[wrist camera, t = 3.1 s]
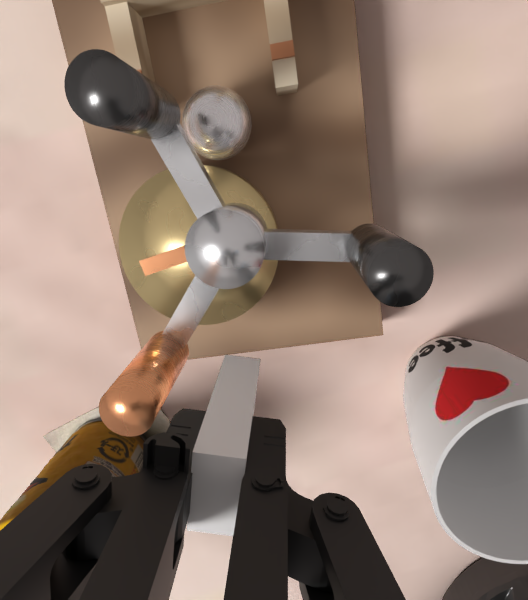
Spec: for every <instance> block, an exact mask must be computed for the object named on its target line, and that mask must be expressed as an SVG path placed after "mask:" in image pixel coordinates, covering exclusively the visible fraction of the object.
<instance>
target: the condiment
mask: <svg viewBox="0 0 528 600" xmlns="http://www.w3.org/2000/svg"><path fill="white" fill-rule="evenodd" d="M169 426H170V421H169V419H168V418H167V417H166V416H165V414H164V413H163V412H162V411H161V409H160V411H159V413H158V415H157V416H156V418H155V420H154V422H153V424H152V426H151V427H150V428H149V429H148V430H147V431H146V432H145V433H143V434H141V435H138V436H131V437H130V436H122V435H119V434H117V433H115V432H113V431H111V430H110V429H109V428H108V427H107V426H106V425H105V424H104V423H103V421H102V419H101V417H100V414H99V407H98V408H96V409H94V410H92V411H90V412H88V413H86V414H84V415H82V416H80V417H78V418H76V419H74V420H72V421H71V422H69V423H67V424H65V425H63V426H61V427H59V428H57V429H55V430H53V431H52V432H50V433H48V434H46V435H45V436H43V437H44V438H45V439H46V440H47V442H48V443H49V444H50V446H51V447H52V448H53V449H54V450H55V451H56V454H55V455H54V456H53V458H52V459H50V461H49V463H48V464H47V465H46V466H45V467H44V468H43V470H42V471H41V472H40V474H39V475H38V476H37V477H36V478H35V479H34V480H33V481H32V483H31V484H30V486H29V487H28V488H27V489H26V490H25V492H24V493H22V495H21V496H20V497H19V499H18V500H17V501H16V502H15V503H14V504H13V506H11V508H10V509H9V510H8V511H7V512H6V514H5V515H4V516H3V518H2V519H1V520H0V530H2V529H3V528H4V527H5V526H6V525H7V524H8V523H9V522H11V521H12V520H13V519H14V518H15V517H16V516H17V515H19V514H20V513H21V512H22V511H23V510H24V509H25V508H27V507H28V506H29V505H30V504H31V503H32V502H33V501H34V500H36V499H37V498H38V497H39V496H40V495H41V494H42V493H44V492H45V491H46V490H47V489H48V488H49V487H50V486H52V485H53V484H54V483H55V482H56V481H57V480H58V479H59V478H61V477H62V476H63V475H64V474H65V473H67V472H68V471H70V470H71V469H73V468H75V467H78V466H81V465H84V464H98V465H103V466H104V467H106V468H108V469H109V470H110V472H111V474H112V477H119V476H127V475H132V474H135V473H138V472H141V470H142V468H143V443H144V442H145V441H146V440H147V439H148V438H149V437H151V436H153V435H155V434H159V433H163V432H167V429H168V427H169Z"/></svg>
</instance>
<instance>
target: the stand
mask: <svg viewBox="0 0 528 600" xmlns="http://www.w3.org/2000/svg"><path fill="white" fill-rule="evenodd" d="M52 3H53V7H54V10H55V14H56V18H57V22H58V26H59V30H60V34H61V38H62V42H63V46H64V49H65V53H66V57H67V61H68V65H70V63H71V62H72V60H73V59H74V58H75V57H76V56H77V55H79V54H80V53H82V52H84V51H87V50H91V49H100V50H105V51H108V52H110V53H112V54H114V55H115V56H117V57H118V58H120V59H121V60H123V61H124V62H126V63H127V64H128V65H130V66H131V67H133V68H134V69H136V70H137V71H139V72H140V73H142V74H143V75H145V76H146V77H147V78H149V79H150V80H152V81H153V82H155V83H156V84H158V85H159V86H161V87H162V88H163V89H165V90H166V91H168V92H169V93H170V94H172V96H173V97H174V98H175V99H176V101H177V103H178V105H179V108H180V115H181V117H180V124H181V126H182V116H183V111H184V108H185V105H186V103H187V101H188V100H189V99H190V97H191V96H192V95H193V94H194V93H195V92H197V91H198V90H200V89H202V88H204V87H207V86H214V85H217V86H224V87H227V88H229V89H231V90H233V91H235V92H236V93H237V94H238V95H239V96H241V98H242V99H243V100H244V101H245V103H246V104H247V106H248V108H249V111H250V115H251V121H252V129H251V134H250V138H249V140H248V142H247V144H246V146H245V147H244V148H243V149H242V150H241V151H240V152H239V153H238V154H237V155H235V156H233V157H231V158H229V159H225V160H211V159H208V158H205V157H203V156H201V155H200V154H198V153H197V152H196V153H197V154H198V156H199V158H200V160H201V162H202V163H203V165H208V166H216V167H220V168H224V169H227V170H229V171H232V172H234V173H236V174H238V175H240V176H241V177H243V178H245V179H246V180H247V181H249V182H250V183H251V184H253V185H254V186H255V187H256V188H257V189H258V190H259V191H260V192H261V194H262V195H263V196H264V198H265V199H266V200H267V202H268V204H269V206H270V207H271V209H272V211H273V214H274V216H275V219H276V222H277V226H278V229H294V230H336V231H352V230H353V229H355V228H356V227H358V226H360V225H362V224H367V223H372V224H374V223H373V211H372V200H371V188H370V177H369V165H368V154H367V142H366V131H365V119H364V108H363V96H362V84H361V73H360V61H359V50H358V38H357V27H356V15H355V4H354V0H52ZM83 123H84V127H85V131H86V135H87V139H88V143H89V147H90V151H91V155H92V159H93V162H94V166H95V170H96V174H97V178H98V182H99V186H100V190H101V194H102V198H103V201H104V205H105V209H106V213H107V217H108V221H109V225H110V229H111V233H112V237H113V240H114V244H115V248H116V252H117V256H118V260H119V264H120V268H121V272H122V275H123V279H124V283H125V287H126V291H127V295H128V299H129V303H130V307H131V311H132V314H133V318H134V322H135V326H136V330H137V334H138V338H139V342H140V346H141V349H142V348H143V347H144V346H145V344H146V343H147V342H148V341H149V340H150V338H151V337H152V336H153V335H154V334H156V333H158V332H160V331H164V330H165V328H166V326H167V324H168V323H169V321H170V319H171V318H169V317H167V316H165V315H163V314H161V313H159V312H158V311H156V310H155V309H154V308H152V307H151V306H150V305H148V304H147V303H146V302H145V301H144V300H143V299H142V298H141V297H140V296H139V294H138V293H137V292H136V291H135V289H134V288H133V286H132V285H131V283H130V281H129V279H128V278H127V276H126V274H125V271H124V268H123V265H122V262H121V257H120V252H119V229H120V223H121V220H122V216H123V213H124V211H125V209H126V207H127V204H128V202H129V201H130V199H131V198H132V196H133V195H134V193H135V192H136V191H137V190H138V189H139V188H140V187H141V186H142V185H143V184H144V183H145V182H146V181H147V180H149V179H150V178H152V177H153V176H155V175H156V174H158V173H160V172H162V171H165V170H167V169H168V168H167V166H166V164H165V163H164V161H163V159H162V158H161V156H160V154H159V152H158V151H157V149H156V147H155V146H154V144H153V142H152V140H151V139H147V138H143V137H139V136H135V135H131V134H127V133H123V132H119V131H115V130H111V129H107V128H103V127H99V126H95V125H92V124H89V123H87V122H85V121H84V120H83ZM182 128H183V127H182ZM379 335H383V327H382V315H381V304H380V301H379V300H378V299H377V298H376V297H375V296H374V295H373V294H372V292H371V291H370V290H369V288H368V287H367V285H366V284H365V282H364V281H363V280H362V278H361V277H360V275H359V274H358V273H357V271H356V270H355V268H354V267H353V266H352V264H351V263H350V262H329V261H291V260H278V264H277V268H276V272H275V275H274V278H273V280H272V282H271V285H270V286H269V288H268V290H267V291H266V293H265V294H264V295H263V297H262V298H261V299H260V300H259V301H258V302H257V303H256V304H255V305H254V306H253V307H252V308H251V309H249V310H248V311H247V312H245V313H244V314H242V315H240V316H238V317H237V318H234V319H232V320H229V321H227V322H223V323H219V324H212V325H198V326H197V327H196V329H195V331H194V332H193V334H192V336H191V338H190V339H189V341H188V343H187V344H188V348H189V356H188V359H187V360H189V359H197V358H205V357H213V356H221V355H229V354H237V353H245V352H253V351H260V350H268V349H276V348H284V347H292V346H300V345H308V344H316V343H324V342H332V341H340V340H347V339H355V338H363V337H371V336H379Z"/></svg>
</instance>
